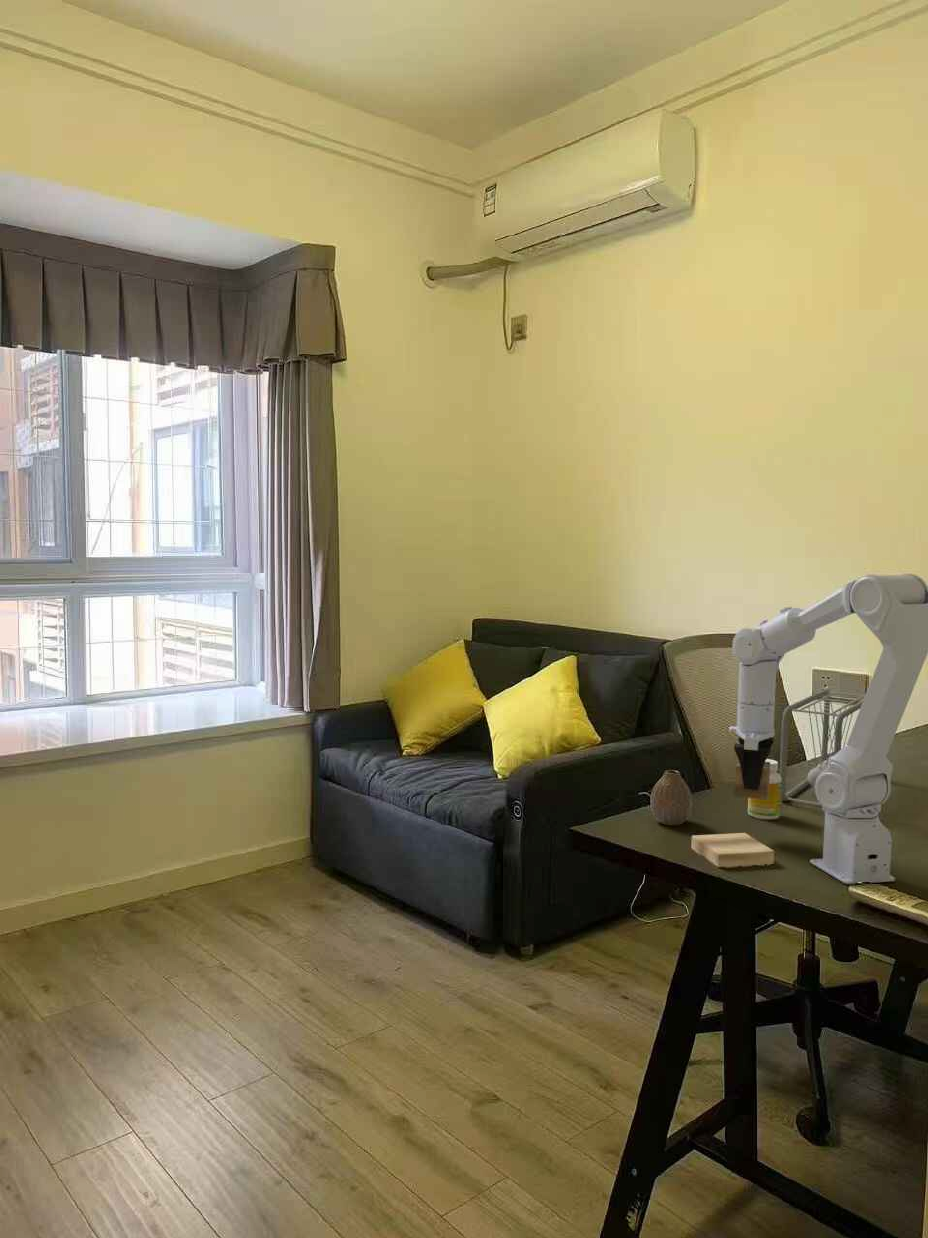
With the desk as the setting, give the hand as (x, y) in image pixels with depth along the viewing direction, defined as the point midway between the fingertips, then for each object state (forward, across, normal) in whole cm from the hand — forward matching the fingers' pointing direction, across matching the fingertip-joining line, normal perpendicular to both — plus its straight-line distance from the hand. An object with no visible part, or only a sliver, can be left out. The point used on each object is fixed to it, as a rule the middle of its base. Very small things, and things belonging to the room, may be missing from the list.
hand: (752, 785), depth 160 cm
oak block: (+9, +12, -2) cm, 15 cm away
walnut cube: (+2, 0, 0) cm, 2 cm away
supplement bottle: (+9, -13, +1) cm, 15 cm away
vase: (+9, -2, -13) cm, 16 cm away
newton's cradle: (+9, -36, +12) cm, 38 cm away
